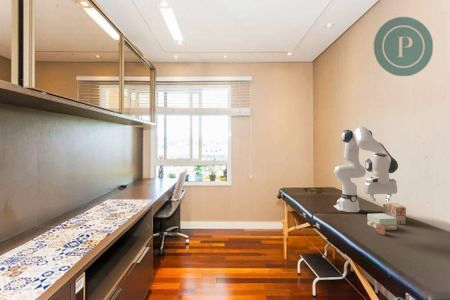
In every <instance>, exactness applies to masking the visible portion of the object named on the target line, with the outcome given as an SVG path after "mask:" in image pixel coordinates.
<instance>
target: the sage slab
mask: <svg viewBox="0 0 450 300" xmlns="http://www.w3.org/2000/svg"><path fill="white" fill-rule="evenodd" d="M366 218H367V219H368V220H370V221H372V222H374V223H382V224H385V225H394V224H397V218H394V217H392V216H389V215H386V214H384V212H383V213H367V217H366ZM397 225H398V224H397Z"/></svg>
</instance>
